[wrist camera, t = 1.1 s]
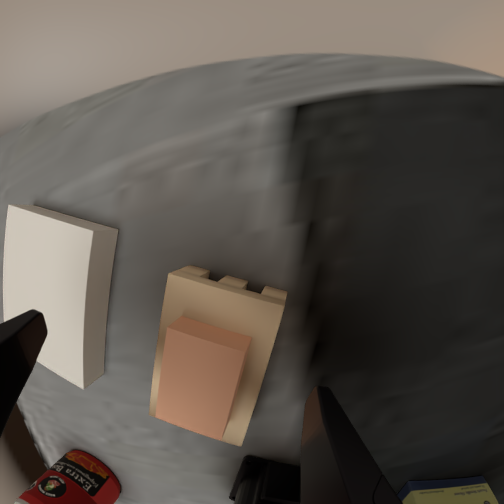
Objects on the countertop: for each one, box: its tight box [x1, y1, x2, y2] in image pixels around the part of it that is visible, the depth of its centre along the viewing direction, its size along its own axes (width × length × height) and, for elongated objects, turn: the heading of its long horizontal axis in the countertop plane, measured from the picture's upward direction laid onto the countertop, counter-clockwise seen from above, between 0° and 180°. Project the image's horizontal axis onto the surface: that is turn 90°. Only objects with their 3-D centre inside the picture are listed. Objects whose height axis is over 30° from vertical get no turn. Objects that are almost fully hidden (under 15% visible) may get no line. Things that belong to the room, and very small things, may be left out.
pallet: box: [149, 265, 287, 446], centre depth 18 cm, size 10×6×4 cm, turn 166°
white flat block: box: [3, 205, 119, 389], centre depth 20 cm, size 12×10×3 cm
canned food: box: [14, 450, 120, 504], centre depth 19 cm, size 8×8×11 cm
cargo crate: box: [155, 316, 252, 440], centre depth 16 cm, size 6×4×2 cm, turn 166°
